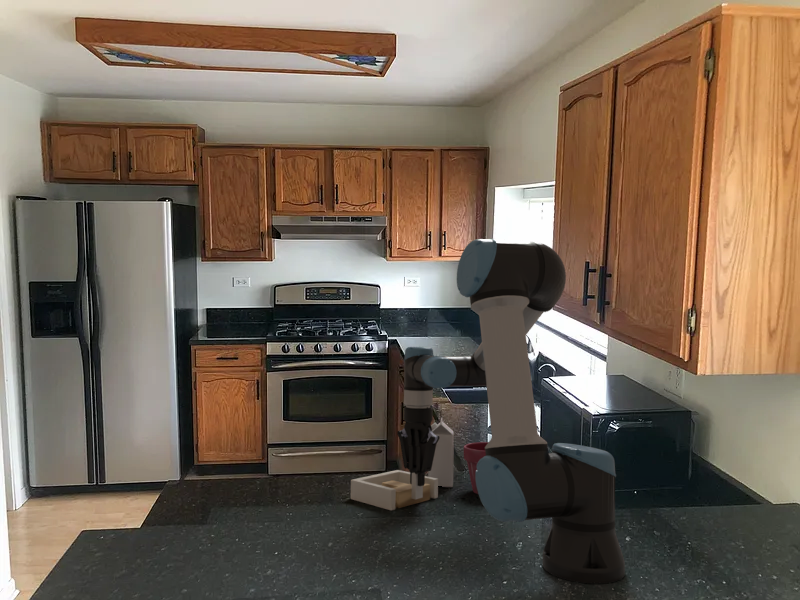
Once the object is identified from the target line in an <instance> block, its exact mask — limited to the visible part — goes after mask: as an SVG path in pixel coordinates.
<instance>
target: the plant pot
mask: <svg viewBox="0 0 800 600" xmlns="http://www.w3.org/2000/svg"><path fill="white" fill-rule="evenodd" d="M488 443H489V441H481V442H480V441H479V442H471V443H467V444H465V445H464V446H463V459H464V461H465V462H466V463H467V470H468V473H469V479H470V483H471V488H472V492H473V493H474V494H476V495H479V494H478V490H477V486H476V478H475V474H476V470H477V468H476V466H477V463H478V461H479V460H480V459H481V458H483V457H484V456H486V453H485V446H486V445H487V444H488Z"/></svg>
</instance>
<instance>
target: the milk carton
mask: <svg viewBox="0 0 800 600" xmlns="http://www.w3.org/2000/svg"><path fill="white" fill-rule="evenodd" d="M431 427H432V432H433V433H434V434H435V435H438V436H439V437H440V438H439V440H438V442H437V444H436V449H435V454H434V459H433V464H432V468H431V471H428V472H427V476H428V477H432V478H437V479H438V486H442V487H441V488H453V486H454V440H455V439H454V437H455V436H454V433H455V432H454V430H453V429H452V428H450V426H448V425H447V424H446V423H445V422H444V421H443V417H442V416H441V419H440V422H439V423H438V424H437V422H434V423H431Z"/></svg>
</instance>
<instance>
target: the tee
mask: <svg viewBox="0 0 800 600" xmlns="http://www.w3.org/2000/svg"><path fill="white" fill-rule="evenodd" d="M382 486H385V487H389V488H393V489H396V501H395V509H401V508H404V507H407V506H412V505H415V504H419V503H422V502H426V501H430V500H431V498H430V484H426V483H425V484H424V486H423V498H419V499H412V484H406V483H401V482H397V481H393V480H392V481H388V482H383V483H382Z"/></svg>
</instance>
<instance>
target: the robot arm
mask: <svg viewBox="0 0 800 600" xmlns="http://www.w3.org/2000/svg"><path fill="white" fill-rule="evenodd" d="M458 261H459V262H458V265H457V268H456V269H457V270H456V286H457V290H458V291H459V294H460V295H462V296H463V297H465V298H469V302H470V303H469V304H470V309H471V310H472V311H473V312H475V314H477V315H478V317H479V326H480V335H481V336H480V337H481V343H480V344H479V346H478V347H477V349H475V350H474V352H473V354H472V355H460V356H459V355H455V356H453V355H452V356H451V355H434V349H433V347H430V346H408V347H407V348H405V349H404V358H403V362H404V366H403V367H404V368H403V369H404V371H403V372H404V374H403V375H404V377H403V378H404V379H403V380H404V382H403V386H404V387H403V389H404V390H403V395H404V396H403V405H404V408H403V420H404V421H405V422H404V426H403V428H402V429H401V430H398V431H397V432H396V434H397V436H398V439H399V442H400V443H399V444H400V450H401V456H402V462H403V467H404V469H405V470H406V469H407V470H408V472H410V484H412V499H419V498H423V486H424V484H425V476H426V475H425V473H428V471H431V468H432V464H433V459H434V454H435V449H436V444H437V442H438V440H439V438H440V437H439V436H438V435H435V434H434V433H433V432H432V427H431V425H432V421H433V416H434V415H433V407H432V405H433V398H434V397H433V395H434V393H433V392H434V389H444V388H445V389H446V388H449V387H486V391H487V393H486V394H487V402H488V411H489V413H488V414H489V422H490V432H491V438H490V440H489V441H488V442H489V443H488V444H487V445H486V446H485V453H486V456H484V457H483V458H481V459H480V460H479V461H478V463H477V466H476V468H477V470H476V474H475V478H476V486H477V490H478V494H477V495H478V497H479V499H480V502H481V504H482V505H483V507H484V509H485V510H486V511H487V513H488V514H489V515H490V517H492V518H493V519H495V520H497V521H499V522H516V523H517V522H518V523H521V522H524V521H530V520H540V519H550V518H551V526H550V527H551V528H550V530H549V533H548V536H547V540H546V543H545V544H544V547H543V551H542V568H543V569H544V570H545V571H546V572H547V573H549V574H551V575H553V576H555V577H557V578H559V579H560V578H561V579H563V580H567V581H571V582H576V583H583V584H597V585H598V584H609V583H613V582H617V581H620V580H621V579H623V578H624V577H625V573H626V562H625V559H624V555H623V552H622V551H623V550H622V549H621V545H620V542H619V539H618V536H617V533H616V477H617V474H616V467H615V466H616V462H615V458H614V456H613V455H612V454H611V453H610V452H609V451H606V450H604V449H600V448H596V447H591V446H586V445H580V444H575V443H566V442H565V443H563V442H557V443H555V442H554V444H553V445H552V447H551V450H550V451H551V452H549V448H548V442H547V440H545V439H544V438H543V437H541V436H540V434H539V433H538V425H537V417H536V416H537V415H536V409H535V402H534V400H535V399H534V392H533V391H534V390H533V384H532V382H533V381H532V376H531V368H530V359H529V351H528V342H527V335H528V334H529V332H530V330H531V329H532V328H533V327H534V326H535V324H536V323H537V322H538V320H539V319H540V317H542V314H543V313H547V312H549V311H552V309H553V308H554V307H555V306H556V305H557V303H558V302H559V300H560V299H561V297H562V295H563V292H564V290H565V286H566V280H567V273H566V268H565V265H564V262H563V260H562V258H561V257H560V256H559V254H558V253H557V252H556V251H555V249H553V248H552V247H550V246H548V244H547V245H546V244H544V243H541V242H538V241H521V240H520V241H519V240H505V239H495V238H487V239H486V238H485V239H483V238H478V239H473V240H471V242H469V243H468V244H467V245H466V246H465V248H464V249H463V251H462V253H461V256H460V258H459V260H458Z"/></svg>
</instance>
